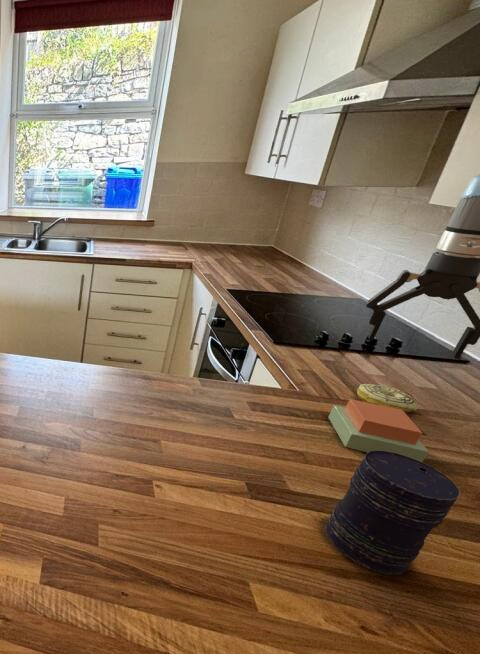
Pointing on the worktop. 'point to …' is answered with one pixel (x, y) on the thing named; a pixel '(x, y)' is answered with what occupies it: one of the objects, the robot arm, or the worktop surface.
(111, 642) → the worktop surface
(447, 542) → the worktop surface
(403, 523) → the dark blue cylinder
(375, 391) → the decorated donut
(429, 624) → the worktop surface
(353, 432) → the stack base
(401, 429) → the stack top
